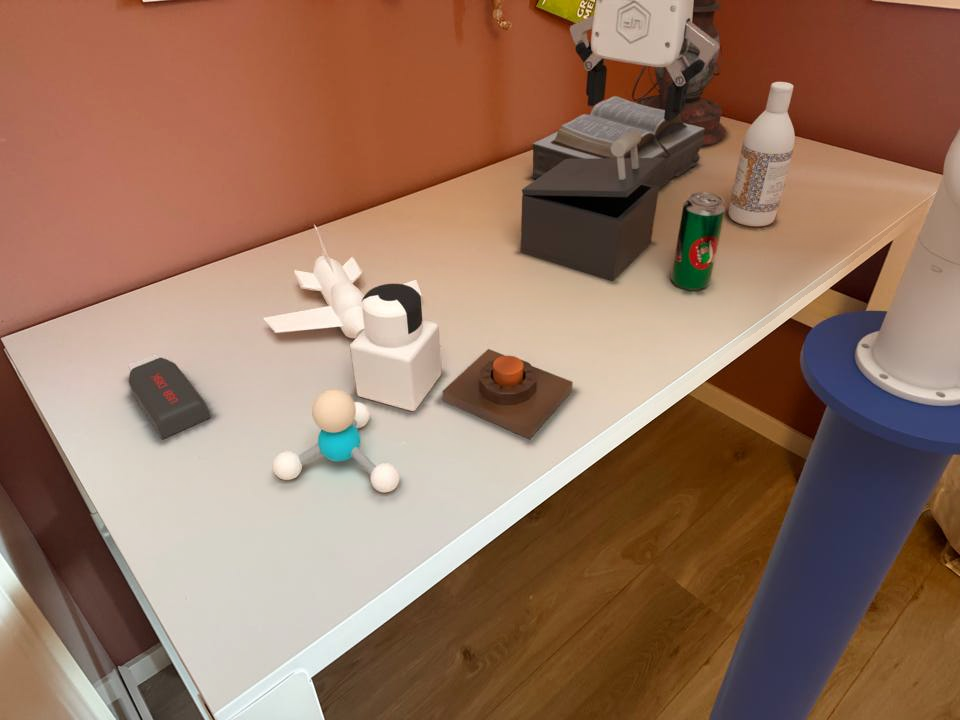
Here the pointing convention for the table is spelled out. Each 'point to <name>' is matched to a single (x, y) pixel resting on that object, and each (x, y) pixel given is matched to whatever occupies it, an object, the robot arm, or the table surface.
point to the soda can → (697, 240)
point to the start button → (508, 371)
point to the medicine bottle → (395, 348)
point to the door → (599, 173)
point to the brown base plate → (508, 395)
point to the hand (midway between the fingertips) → (632, 110)
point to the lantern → (693, 81)
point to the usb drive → (166, 395)
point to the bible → (610, 124)
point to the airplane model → (329, 298)
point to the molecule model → (338, 440)
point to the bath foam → (764, 161)
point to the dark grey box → (589, 229)
